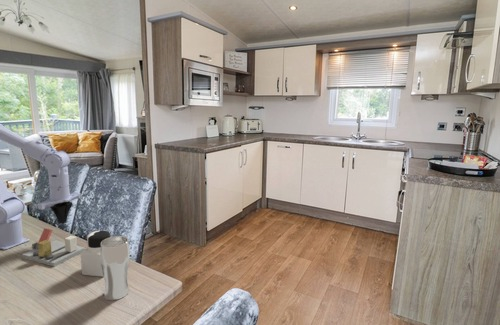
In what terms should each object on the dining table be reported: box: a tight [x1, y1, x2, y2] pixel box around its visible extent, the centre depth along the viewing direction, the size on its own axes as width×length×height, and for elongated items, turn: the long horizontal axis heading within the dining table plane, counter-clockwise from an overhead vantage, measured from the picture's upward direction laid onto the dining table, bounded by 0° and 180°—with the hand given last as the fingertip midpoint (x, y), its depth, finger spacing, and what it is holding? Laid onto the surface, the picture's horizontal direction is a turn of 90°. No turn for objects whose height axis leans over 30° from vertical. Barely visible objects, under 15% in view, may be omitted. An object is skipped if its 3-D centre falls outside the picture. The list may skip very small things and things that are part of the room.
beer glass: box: [100, 235, 131, 301], centre depth 72 cm, size 7×7×15 cm
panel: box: [22, 239, 86, 267], centre depth 92 cm, size 15×11×3 cm
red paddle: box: [35, 228, 54, 248], centre depth 93 cm, size 4×1×7 cm, turn 72°
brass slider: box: [37, 240, 52, 257], centre depth 88 cm, size 2×2×4 cm
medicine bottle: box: [80, 230, 111, 278], centre depth 83 cm, size 7×7×12 cm
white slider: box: [64, 235, 78, 252], centre depth 91 cm, size 2×2×4 cm
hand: (62, 222), depth 98 cm, fingers closed
